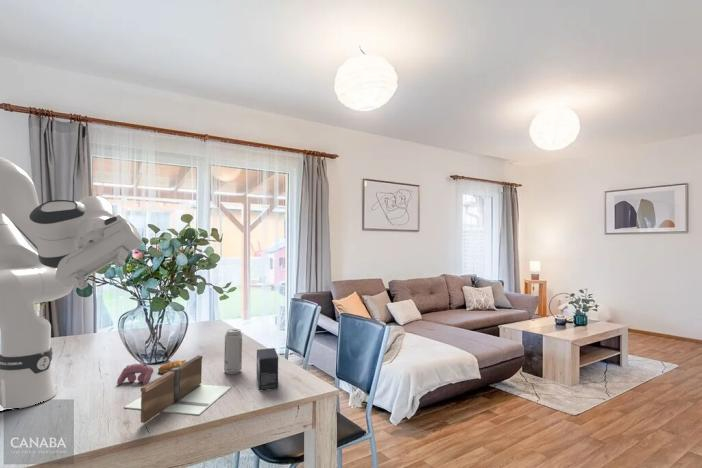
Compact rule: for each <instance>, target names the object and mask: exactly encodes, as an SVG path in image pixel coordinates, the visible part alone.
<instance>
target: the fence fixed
mask: <svg viewBox="0 0 702 468" xmlns="http://www.w3.org/2000/svg"><path fill="white" fill-rule="evenodd" d="M202 361H203V355H196V356H195V357H193V358H191V359H189V360H188V361H187V360H186V362H185V363H184V364H182V365H180V366H178V367H177V368H173V369H171V371H172V372H175V375H174V403H177V402H179V399H180V398H181V397H182V396H184V395H185V394H187V393H188V392H189V391H191V390H192V389H194V388H195V387H197V386H198V385H199V384H201V385H202V372H203V371H202V367H203V365H202V364H203V362H202Z"/></svg>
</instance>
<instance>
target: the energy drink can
mask: <svg viewBox="0 0 702 468" xmlns="http://www.w3.org/2000/svg"><path fill="white" fill-rule="evenodd" d="M223 359H224V360H223V361H224V363H223V364H224V365H223V370H224V371H225V374H227V375H236V374H239V373H240V372H241V370H242V365H243V363H242V361H243V360H242V359H243V333H242V332H241V329H239V328H231V329H227V330H226V332H225V334H224V358H223Z"/></svg>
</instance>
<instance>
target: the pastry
mask: <svg viewBox="0 0 702 468" xmlns="http://www.w3.org/2000/svg"><path fill="white" fill-rule="evenodd" d="M185 362H187V360H186V359H184V360H173V361H171V362H168V363H165V364H162V365H161V366H160V367H158V373H160V374H162V375H164V374H166V373H168V372H169V371H171V369H173V368H177V367H178V366H180V365H182V364H184V363H185Z"/></svg>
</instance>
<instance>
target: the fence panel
mask: <svg viewBox="0 0 702 468" xmlns="http://www.w3.org/2000/svg"><path fill="white" fill-rule="evenodd" d="M174 375H175V372H172V371H169V372H168V373H166V374H162V375H161V376H159V377H157V378H155V379H153V380H151V382H150V381H149V382H148V384H146V385H142V386H141V387H140V393H141V395H140V397H141V410H140V423H141V424H146V423H147V422H149V421H150V420H151V419H153V418H155V416H157V415H159V414H160V413H161V411H163V410H164V409H165V408H167V407H168V406H170V405H171V404H172V403H174Z"/></svg>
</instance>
